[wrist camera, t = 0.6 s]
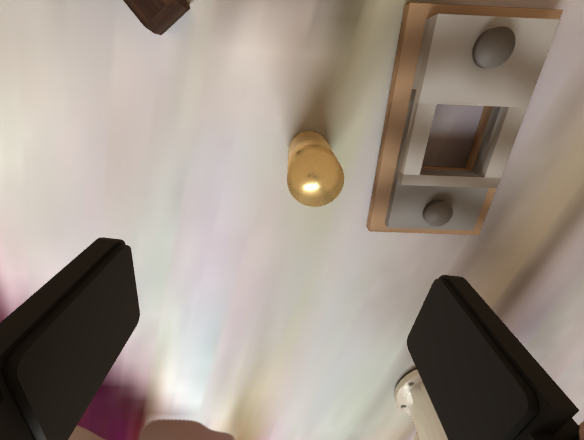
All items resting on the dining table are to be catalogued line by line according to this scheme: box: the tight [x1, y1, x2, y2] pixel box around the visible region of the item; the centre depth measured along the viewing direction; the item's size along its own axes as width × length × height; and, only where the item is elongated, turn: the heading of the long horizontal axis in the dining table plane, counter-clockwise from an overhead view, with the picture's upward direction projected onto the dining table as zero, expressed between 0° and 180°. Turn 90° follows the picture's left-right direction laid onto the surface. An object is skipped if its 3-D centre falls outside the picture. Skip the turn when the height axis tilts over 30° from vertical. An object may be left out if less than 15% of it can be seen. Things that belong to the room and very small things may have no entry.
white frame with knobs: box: [367, 3, 563, 235], centre depth 26 cm, size 20×12×4 cm, turn 178°
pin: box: [287, 131, 344, 207], centre depth 24 cm, size 4×4×9 cm
